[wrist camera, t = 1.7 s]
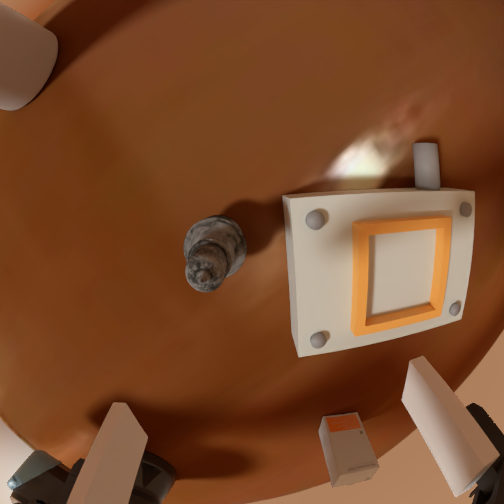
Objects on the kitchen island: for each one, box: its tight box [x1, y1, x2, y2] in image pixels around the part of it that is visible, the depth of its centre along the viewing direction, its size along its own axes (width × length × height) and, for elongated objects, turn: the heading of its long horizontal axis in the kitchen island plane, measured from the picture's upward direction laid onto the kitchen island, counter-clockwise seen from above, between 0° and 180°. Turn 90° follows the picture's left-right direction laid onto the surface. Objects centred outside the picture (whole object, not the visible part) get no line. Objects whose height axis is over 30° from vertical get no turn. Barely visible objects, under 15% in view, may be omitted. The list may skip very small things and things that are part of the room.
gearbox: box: [282, 143, 475, 357], centre depth 26 cm, size 22×21×6 cm
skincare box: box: [319, 412, 379, 487], centre depth 31 cm, size 6×4×12 cm
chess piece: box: [184, 215, 247, 292], centre depth 23 cm, size 6×6×12 cm
